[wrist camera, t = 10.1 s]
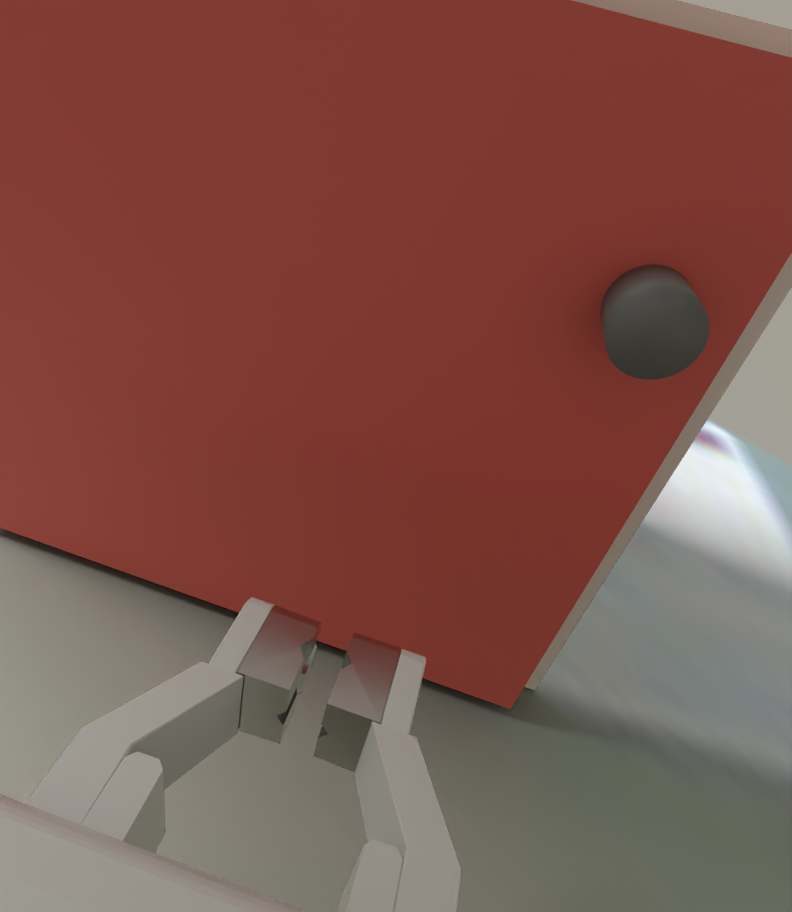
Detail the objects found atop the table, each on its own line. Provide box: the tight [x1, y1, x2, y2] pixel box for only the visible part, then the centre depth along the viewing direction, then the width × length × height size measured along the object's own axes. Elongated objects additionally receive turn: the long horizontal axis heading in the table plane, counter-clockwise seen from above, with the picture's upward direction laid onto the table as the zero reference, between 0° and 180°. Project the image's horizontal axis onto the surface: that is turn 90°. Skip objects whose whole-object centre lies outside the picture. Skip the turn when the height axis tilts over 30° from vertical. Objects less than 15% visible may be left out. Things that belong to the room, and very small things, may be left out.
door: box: [0, 0, 792, 709], centre depth 15 cm, size 21×3×19 cm, turn 76°
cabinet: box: [525, 0, 792, 690], centre depth 22 cm, size 22×14×20 cm, turn 76°
